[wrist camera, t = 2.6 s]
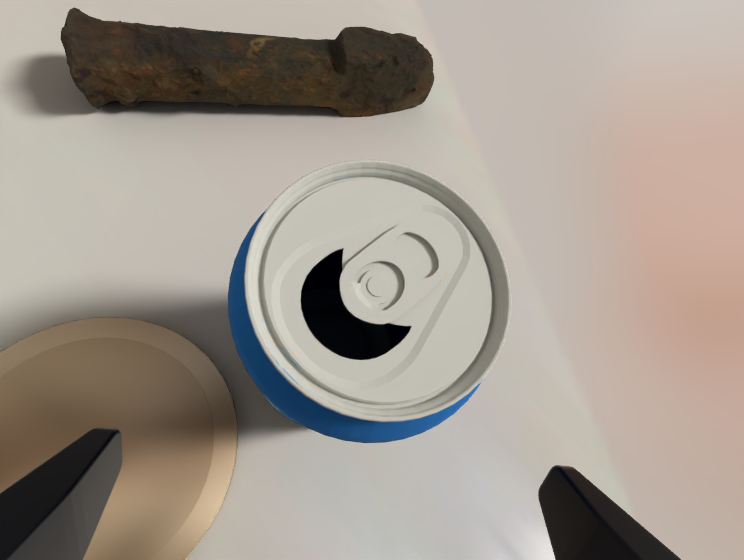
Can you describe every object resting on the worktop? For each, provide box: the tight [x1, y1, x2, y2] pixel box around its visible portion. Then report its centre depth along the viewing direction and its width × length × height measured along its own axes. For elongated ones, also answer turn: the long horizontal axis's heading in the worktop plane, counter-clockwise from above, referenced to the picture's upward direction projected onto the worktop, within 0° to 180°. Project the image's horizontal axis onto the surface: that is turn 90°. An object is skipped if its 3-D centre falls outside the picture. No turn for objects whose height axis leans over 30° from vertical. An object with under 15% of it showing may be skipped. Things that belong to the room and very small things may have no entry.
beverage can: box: [228, 160, 511, 443], centre depth 13 cm, size 6×6×12 cm
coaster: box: [0, 317, 238, 560], centre depth 15 cm, size 11×11×1 cm
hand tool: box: [61, 8, 434, 117], centre depth 21 cm, size 19×4×5 cm, turn 96°
